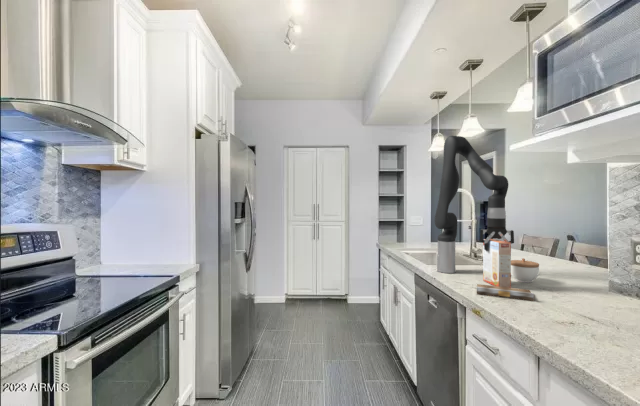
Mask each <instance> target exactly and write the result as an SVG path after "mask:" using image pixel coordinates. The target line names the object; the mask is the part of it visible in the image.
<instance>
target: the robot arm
mask: <svg viewBox="0 0 640 406" xmlns="http://www.w3.org/2000/svg"><path fill="white" fill-rule="evenodd" d="M458 154H459V155H461V156H462V157H464V158H465V159H466V160H467V162H468V165H469V168H470V169H471V171H473V172H474V174H476V176H478V178H479V179H480V181H481V183H482V184H483V186H484V187H486V188H487V190H491V191H492V195H490V196H488V198H487V199H488V201H487V229H483V228H481V229H480V232H479V241H480V243H484V249H485V250H486V251H488V243H487V242H488V241H489V240H490V239H495V240H502V241H505V242H510V243H511V245H512V244H514V243H515V231H514V230H513V229H511V230H507V227H506V226H507V224H506V223H507V220H506V219H507V215H506V214H507V213H506V212H507V211H506V197H507V193H508V190H509V180H508V178H507V177H506V176H504V175H500V174H499V175H496V174H495V173H494V169H493V167H492V166H491V165H490V164H489V163H488V162H486V161H485V160H484V159H483V158H482V157H481V156H480V155H479V154H478V153H477V151H476V150H475V149H474V147H473V146H472V145H471V143H470V142H469V141H468V139H467V138H465V137H464V136H459V135H449V136H447V138H445V141H444V144H443V159H442V161H443V163H442V174H441V179H440V187H439V188H440V189H439V195H438V202H437V207H436V210H435V215H434V225H435V227H436V228H437V229H439V230H443V231H442V232H441V233H440V234H438V236H437V254H436V272H439V273H444V274H454V273H456V238H457V235H458V218H457V216H456V215H457V214H455V213H454V212H448V211H449V207H450V204H451V202H452V201H453V199H454V198H455V196H456V195H457V193H458V190H459V186H460V174H459V170H458V169H457V168H458V167H457V165H456V155H458ZM485 234H488V235H487V237H486V238H485V239H486V240H483V239H484V235H485ZM507 234H508V235H509V236H510V237H509V238H510V240H508V238H506V237H505V236H506V235H507Z"/></svg>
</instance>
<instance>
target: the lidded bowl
mask: <svg viewBox="0 0 640 406" xmlns="http://www.w3.org/2000/svg"><path fill="white" fill-rule="evenodd" d="M539 268H540V263H538V262H536V261H530V260H526V259H525V258H521V259H511V278H513V279H514V280H515V281H516V282H520V283H529V284H530V283H533V281H535V280H536V279H537V278H538V276H539V272H540V269H539Z"/></svg>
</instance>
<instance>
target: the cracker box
mask: <svg viewBox="0 0 640 406" xmlns="http://www.w3.org/2000/svg"><path fill="white" fill-rule="evenodd" d="M483 240H486V238H483ZM482 243H483V242H482ZM487 243H488V251H486V250H485V249H484V243H483V244H482V246H483V247H482V254H483V255H482V257H483V258H482V260H483V261H482V263H483V264H482V266H483V267H482V268H483V269H482V270H483V271H482V272H483V273H482V278H483V282H485V283H488V284H489V285H491V286H499V287H508V288H512V275H511V260H512V246H511V245H512V244H511V243H510V242H505V241H504V240H501V239H493V238H491V239H490V240H489V241H488V242H487Z"/></svg>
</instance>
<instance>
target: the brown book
mask: <svg viewBox="0 0 640 406" xmlns="http://www.w3.org/2000/svg"><path fill="white" fill-rule="evenodd" d="M476 295H478V296H479V295H480V296H487V297H488V296H489V297H496V298H501V299H502V298H503V299H511V300H520V301H528V302H534V301H535V300H534V297H535V294H534V292H532V291H531V290H530V289H526V288H517V287H516V288H515V287H511V288H508V287H499V286H494V285H490V284H489V285H487V284H480V283H479V284H477V283H476Z"/></svg>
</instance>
